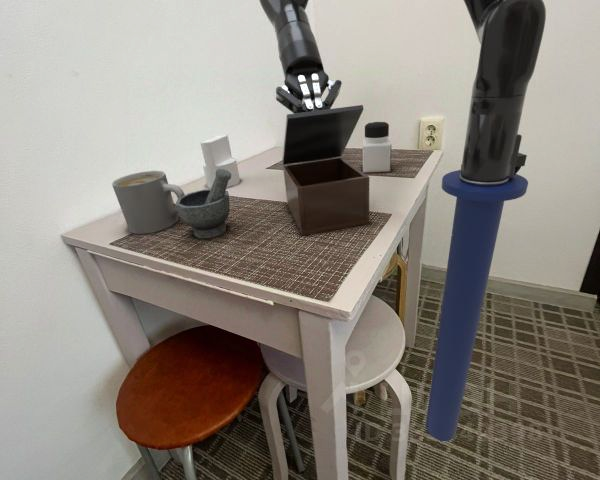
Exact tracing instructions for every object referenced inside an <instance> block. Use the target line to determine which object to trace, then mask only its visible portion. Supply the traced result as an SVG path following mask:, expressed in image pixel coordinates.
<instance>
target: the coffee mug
mask: <svg viewBox="0 0 600 480" xmlns="http://www.w3.org/2000/svg"><path fill="white" fill-rule="evenodd" d="M111 186H112V188H113V192H114V194H115V196H116V200H117V201H118V204H119V207H120V210H121V213H122V214H123V217H124V221H125V223H126V225H127V229H128V230H129V232H130V233H132V234H135V235H145V234H146V235H147V234H153V233H156V232H160V231H162V230H166V229H168V228H170V227H172V226H173V225H175V224H176V223H177V222H178V220H179V214H178V212H177V209H176V206H175V204H176V202H174V198H173V196H172V193H174V194H175V195H176V198H177V199H178V198H180V197H182V196H184V195H186V194H185V192H184V190H183V189H182V187H180V186H179V185H177V184H172V183H169V182H168V178H167V175H166V172H165V171H163V170H147V171H145V170H144V171H139V172H135V173H130V174H127V175H124V176H121V177H119V178H117V179H115V180H113V181H112V183H111Z"/></svg>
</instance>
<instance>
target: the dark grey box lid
mask: <svg viewBox="0 0 600 480" xmlns="http://www.w3.org/2000/svg"><path fill="white" fill-rule="evenodd" d="M363 111H364V105H363V104H359V105H351V106H350V105H349V106H343V107H335V108H330V109H326V110H318V111H311V112H303V113H295V114H294V113H287V114H286V116H285V117H286V118H285V128H284V139H283V150H282V151H283V152H282V160H281V163H282V166H283V165H290V164H297V163H304V162H310V161H317V160H320V159H327V158H330V159H331V158H338V157H342V156H343V154H344V152H345V150H346V148H347V145H348V143H349V141H350V139H351V137H352V135H353V133H354V131H355V129H356V126H357V125H358V122H359V120H360V118H361V116H362V114H363Z"/></svg>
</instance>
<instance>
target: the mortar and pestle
mask: <svg viewBox="0 0 600 480" xmlns="http://www.w3.org/2000/svg"><path fill="white" fill-rule="evenodd" d="M230 179H231V173H230V172H229V171H227V170H225V169H217V170H216V177H215V180H214V182H213V185H212V187H211V188H208V189H207V188H205V189H201V190H196V191H192V192H188V193H187V194H185V195H184V196H182V197H180V198H177V199H176V201H175V206H176V209H177V212H178V214H177V215H178V217H179V218H180V219H181V221H182V222H183V223H184V224H186V225H187V226H189V227H191V228H193V234H194V236H195V237H197V238H199V239H211V238H215V237H218V236H221V235H222V234H223V233H225V232H226V231H227V225H226V221H227V219H228V217H229V215H230V212H231V211H230V208H231V207H230V204H231V203H230V202H231V201H230V195H229V191H228V190H227V188H228V187H227V184H228V180H230Z"/></svg>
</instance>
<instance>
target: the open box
mask: <svg viewBox="0 0 600 480" xmlns="http://www.w3.org/2000/svg"><path fill="white" fill-rule="evenodd" d="M282 170H283V179H284V186H285V187H284V188H285V194H286V203H287V207H288V209H289V211H290V213H291V215H292V216H293V219H294V221H295V223H296V225H297V227H298V230H299V231H300V234H301V235H302V236H305V235H311V234H318V233H322V232H328V231H329V232H330V231H334V230H339V229H345V228H351V227H357V226H361V225H362V226H363V225H369V224H370V176H369V175H368V174H366V173H364V172H363V170H360V169H359V168H357V167H356V166H355V165H353V164H352V163H350V162H349V161H348V160H346V159H344V158H343V157H342V156H340V157H333V158H330V159H324V160H313V161H306V162H300V163H293V164H286V165H283V164H282Z"/></svg>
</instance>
